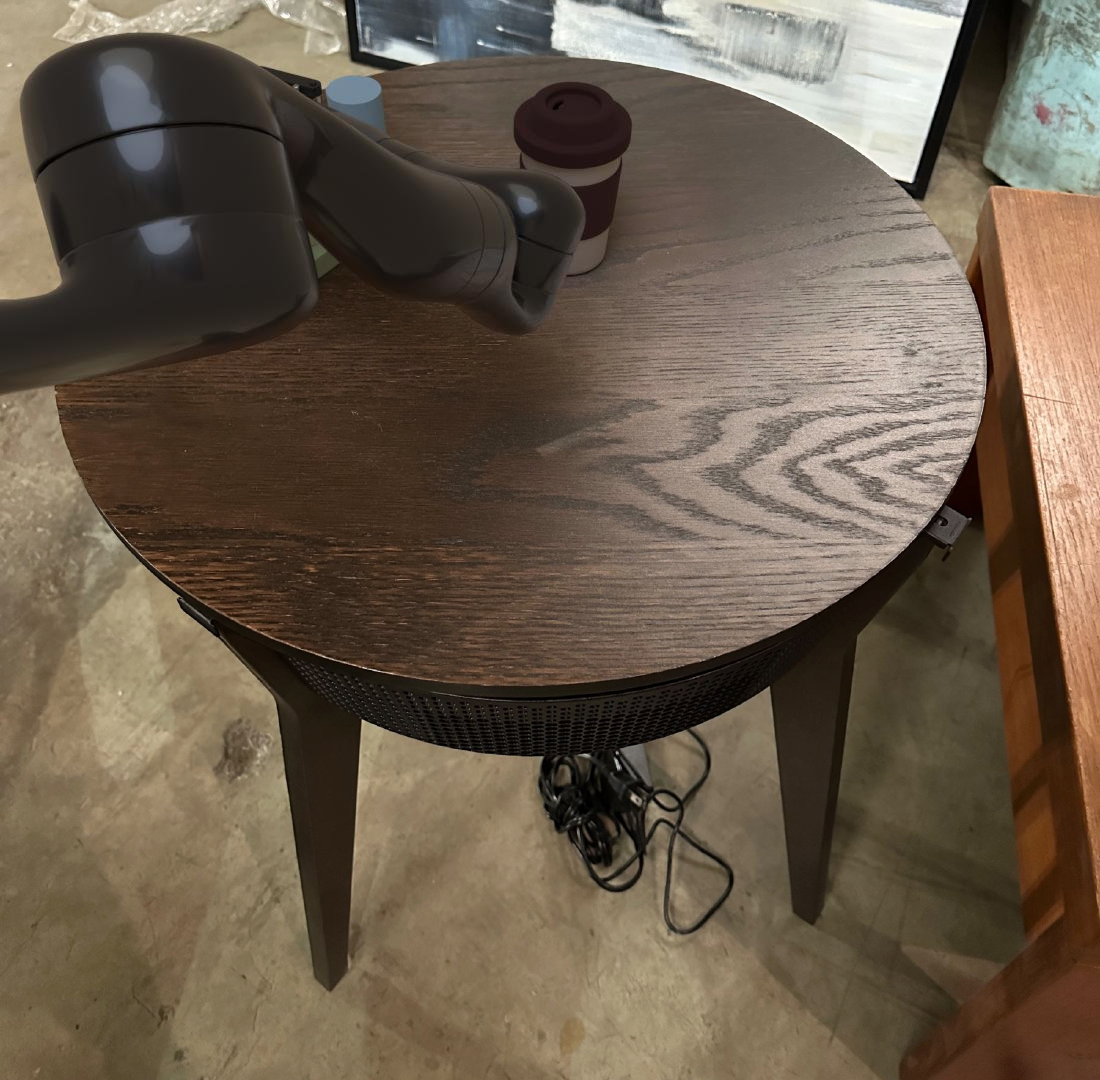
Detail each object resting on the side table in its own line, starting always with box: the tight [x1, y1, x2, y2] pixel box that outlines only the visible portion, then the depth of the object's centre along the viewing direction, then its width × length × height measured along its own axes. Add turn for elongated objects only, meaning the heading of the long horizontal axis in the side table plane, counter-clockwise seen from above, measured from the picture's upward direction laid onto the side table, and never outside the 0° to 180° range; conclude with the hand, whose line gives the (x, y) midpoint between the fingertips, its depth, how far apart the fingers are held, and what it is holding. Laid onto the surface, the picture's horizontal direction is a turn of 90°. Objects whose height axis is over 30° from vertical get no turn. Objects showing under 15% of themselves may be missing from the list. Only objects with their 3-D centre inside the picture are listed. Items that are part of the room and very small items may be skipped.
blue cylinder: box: [325, 74, 387, 134], centre depth 97 cm, size 5×5×10 cm
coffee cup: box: [513, 81, 633, 276], centre depth 90 cm, size 10×10×15 cm
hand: (166, 92), depth 79 cm, fingers closed on supplement bottle, 5 cm apart
